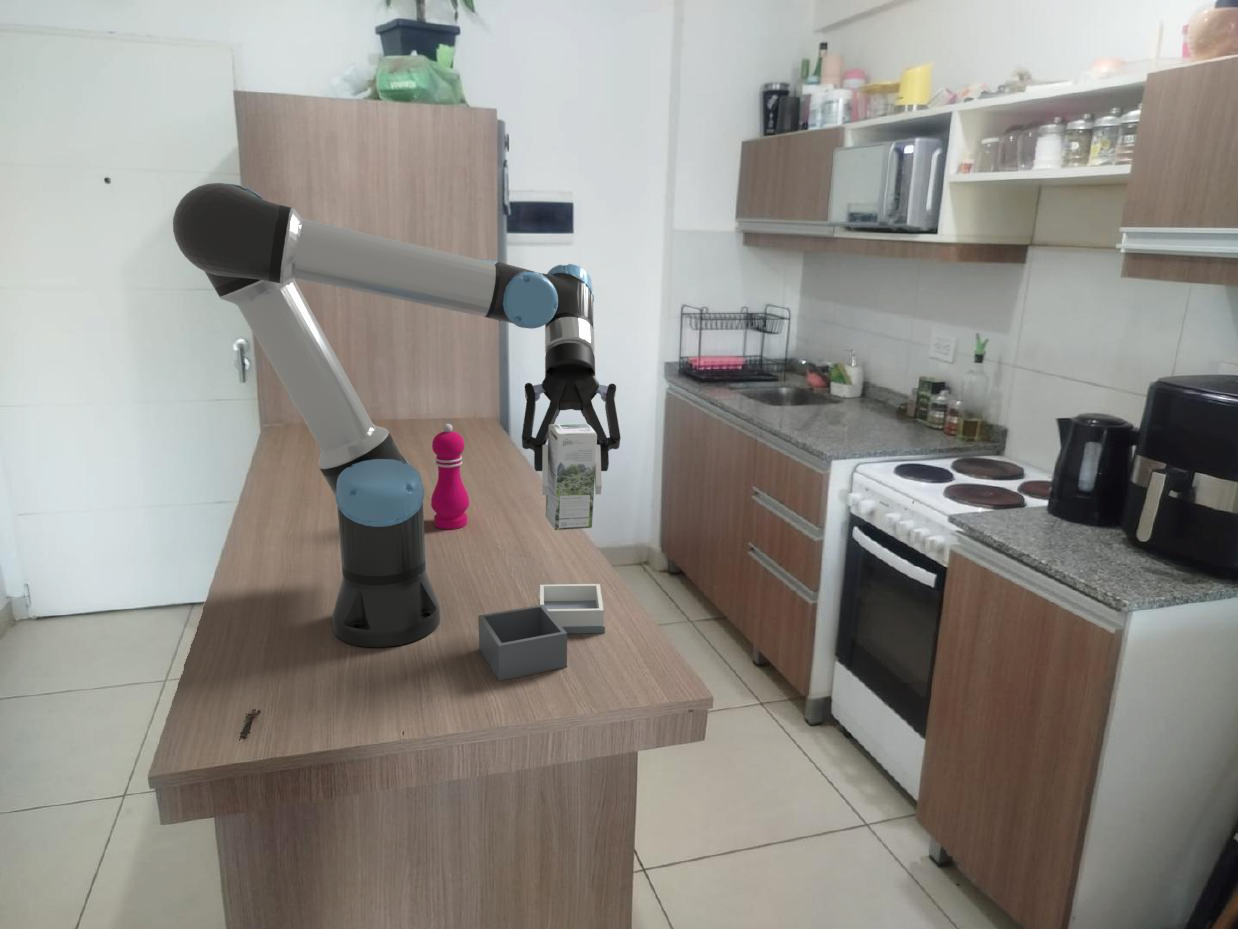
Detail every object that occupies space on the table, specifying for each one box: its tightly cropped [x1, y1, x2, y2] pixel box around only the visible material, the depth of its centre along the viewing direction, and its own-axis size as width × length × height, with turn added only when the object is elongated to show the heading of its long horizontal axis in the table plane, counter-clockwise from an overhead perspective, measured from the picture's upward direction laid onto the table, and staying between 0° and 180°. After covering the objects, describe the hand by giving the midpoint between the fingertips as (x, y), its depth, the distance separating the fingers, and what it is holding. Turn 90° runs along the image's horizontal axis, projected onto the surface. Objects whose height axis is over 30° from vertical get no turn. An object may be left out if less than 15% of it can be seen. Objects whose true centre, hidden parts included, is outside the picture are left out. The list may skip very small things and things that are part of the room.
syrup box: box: [545, 422, 597, 531], centre depth 123 cm, size 6×6×14 cm
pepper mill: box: [430, 423, 470, 530], centre depth 164 cm, size 7×7×20 cm
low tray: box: [538, 583, 606, 634], centre depth 129 cm, size 10×10×4 cm
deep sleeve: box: [478, 604, 568, 682], centre depth 117 cm, size 9×9×5 cm
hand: (571, 489), depth 120 cm, fingers closed on syrup box, 7 cm apart
